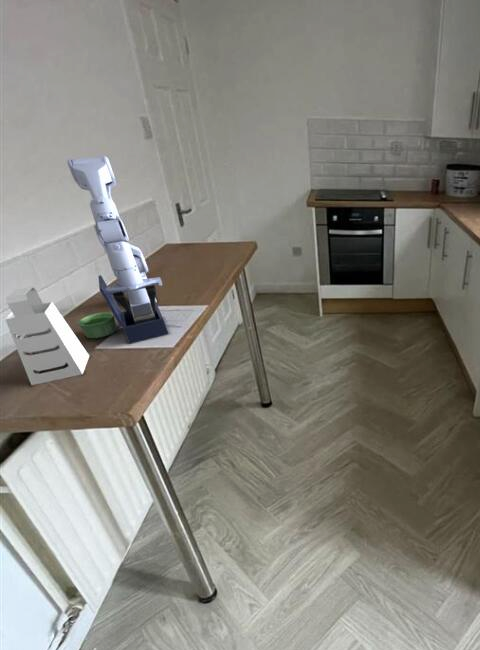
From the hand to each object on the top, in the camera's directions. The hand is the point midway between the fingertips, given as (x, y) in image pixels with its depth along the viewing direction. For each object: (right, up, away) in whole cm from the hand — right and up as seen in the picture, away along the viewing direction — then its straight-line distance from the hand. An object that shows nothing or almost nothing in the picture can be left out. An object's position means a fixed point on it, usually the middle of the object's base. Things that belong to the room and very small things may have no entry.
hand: (143, 314), depth 119 cm
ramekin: (-13, -5, +2) cm, 14 cm away
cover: (-5, +3, -6) cm, 8 cm away
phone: (0, -1, +1) cm, 1 cm away
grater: (-11, -16, -16) cm, 25 cm away
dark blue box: (0, -4, +2) cm, 5 cm away
